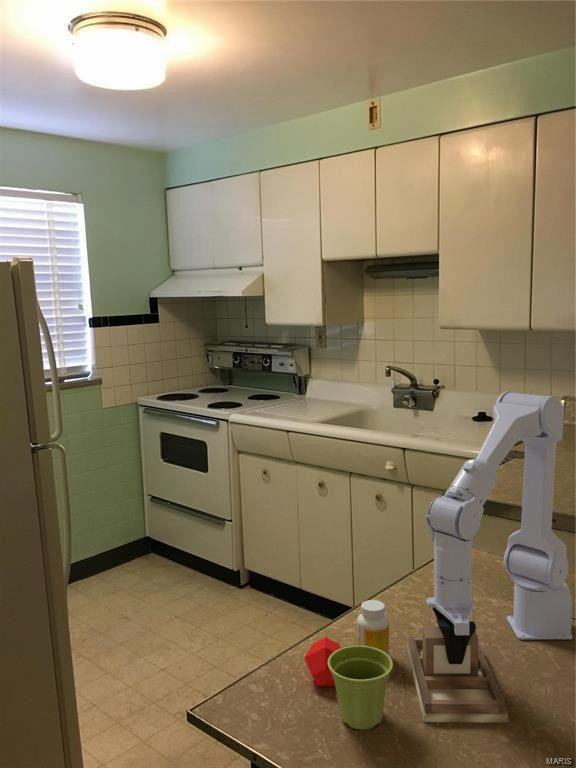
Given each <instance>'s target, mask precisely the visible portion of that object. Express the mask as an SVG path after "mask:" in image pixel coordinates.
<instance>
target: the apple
mask: <svg viewBox="0 0 576 768" xmlns="http://www.w3.org/2000/svg"><path fill="white" fill-rule="evenodd" d="M341 648H342V646H341V645H340V643H338V642H336V641H335V640H332V639H331V638H329V637H328V636H324V637H322V638H321V639H319V640H317V641H315V642H313V643H312V644H311V646H310V647H309V649H308V651H307V653H306V654H305V656H304V657H303V658H304V661H305V663H306V665H307V667H308V671H309V672H310V675H311V677H312V678H313V680H314V682H315V684H316V686H317V687H329V688H331V687H332V688H333V687H336V686H335V681H334V678H333V676H332V672H331V671H330V669H329V667H328V658H329V657H330V655H331V654H332V653H333V652H335V651H337V650H338V649H341Z"/></svg>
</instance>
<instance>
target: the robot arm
mask: <svg viewBox="0 0 576 768" xmlns="http://www.w3.org/2000/svg"><path fill="white" fill-rule="evenodd" d="M492 409H493V411H492V413H493V414H492V415H493V416H492V417H493V424H492V426H491V428H490V430H489V433H488V434H487V436H486V438H485V440H484V442H483V444H482V445H481V448H480V450H479V451H478V454H477V455H476V458H473V459H468V460H466V461H465V462H464V464H463V465H462V466H461V468H460V470H459V472H458V473H457V474H456V476H455V478H454V479H453V481H452V482H451V484H450V486H449V487H448V488H447V490H446V491H445V493H444V495H440V497H439V496H438V497H435V498H434V499H433V500H431V503H430V504H429V506H428V509H427V515H425V522H426V526H427V528H428V529H429V531H430V540H431V542H432V543H433V545H434V546H433V559H434V560H433V572H434V573H433V576H434V577H433V578H434V579H433V582H434V584H433V587H434V588H433V590H434V591H433V593H434V594H433V595H434V596H433V597H427V598H426V606H427V607H428V608H431V610H432V611H433V612H434V614H435V617H436V622H437V623H436V624H437V627H439V628H440V630H441V632H442V634H443V638H444V642H445V649H446V655H447V659H448V662H449V664H462V663H463V660H464V657H465V652H466V648H467V645H468V642H469V640H470V638H471V636H472V635H473V634H474V632H476V630H477V625H476V623H475V621H470V618H471V615H472V612H473V608H474V600H473V538H474V537H475V536H476V534H477V533H478V532H479V530H480V527H481V523H482V516H483V515H484V511H485V508H484V507H483V506H484V505H485V503H486V501H487V499H488V498H489V496H490V495H491V493H492V491H493V489H494V488H495V486H496V485H497V483H498V481H499V477H498V473H497V469H498V468H499V466H500V465H501V464H502V462H503V461H504V459H506V457H507V455H508V454H509V453H510V451H511V450H512V449H513V447H514V446H515V445H516V444H517V442H518V441H519V440H520V441H522V442H523V443H524V445H525V447H524V462H523V463H524V465H523V483H522V499H521V501H522V502H521V504H522V505H521V521H520V524H521V526H520V529H518V530H516V531H514V532H513V533H511V534H510V535H509V536H508V538H507V546H506V549H505V551H504V556H503V565H504V566H503V567H504V569H505V571H506V572H507V574H509V575H510V580H511V581H513V582H514V584H513V585H514V586H513V587H514V589H513V615H507V616H506V620H507V621H508V623H509V626H510V627H511V628H512V630H513V632H514V634H515V636H516V637H517V639H518V640H572V639H573V635H572V617H573V616H572V615H573V614H572V613H573V612H572V611H573V610H572V609H573V603H572V602H573V601H572V596H571V595H572V594H571V591H570V588H569V586H568V584H567V583H566V580H567V577H568V575H569V569H570V568H569V561H568V558H567V557H568V556H567V545H566V544H565V542H564V541H563V540H561V539H560V538H559V537H558V536H557V535H556V533H554V531H553V530H552V524H553V523H552V521H553V510H554V509H553V507H554V506H553V504H554V487H555V472H556V471H555V470H556V452H557V451H556V449H557V443H558V442H560V441H562V440H563V435H564V434H563V433H564V418H565V407H564V405H563V404H562V402H561V401H560V399H559V398H558V397H557V396H555V395H539V394H529V393H528V394H527V393H518V392H512V391H509V390H508V391H503V392H502V393H501V394H499V396H498V398H497V399H496V401H495V404H494V406H493V408H492Z"/></svg>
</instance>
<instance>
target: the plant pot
mask: <svg viewBox="0 0 576 768" xmlns="http://www.w3.org/2000/svg"><path fill="white" fill-rule="evenodd" d="M393 666H394V662H393V660H392V658H391V657H390V654H389V655H388V654H386V653H385V652H383V651H382V650H380V649H377V648H373V647H369V646H357V645H351V646H350V645H349V646H345V647H341V649H338V650H337V651H335V652H333V653H332V654H331V655H330V657H329V658H328V667H329V669H330V671H331V672H332V676H333V678H334V681H335V686H334V687H335V691H336V696H337V697H336V699H337V702H338V704H337V705H338V709H339V714H340V715H339V716H340V719H341V721H342V722H343V723H344V724H347V726H349V727H350V728H351V729H355V730H356V729H357V730H370V729H373V728H374V727H375V726H376V725H377V724H381V722H382V720H383V714H384V708H385V707H384V706H385V697H386V691H387V684H388V682H387V681H388V679H389V678H390V673H391V672H392V671H393V668H394V667H393Z"/></svg>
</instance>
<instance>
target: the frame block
mask: <svg viewBox="0 0 576 768" xmlns="http://www.w3.org/2000/svg"><path fill="white" fill-rule="evenodd" d="M422 637H423V671H424V674H425V676H451V677H478V643H479V636H478V634H477V632H476V631H475V632H474V634H473V635H472V636H471V638H470V640H469V642H468V645H467V648H466V652H465V657H464V660H463V663H462V664H449V662H448V659H447V655H446V649H445V642H444V638H443V634H442V632H441V630H440V628H439V626H422Z"/></svg>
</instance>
